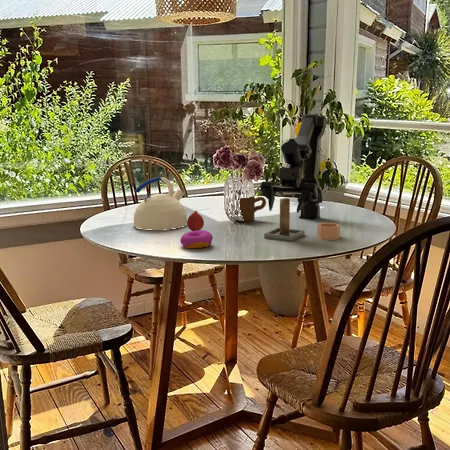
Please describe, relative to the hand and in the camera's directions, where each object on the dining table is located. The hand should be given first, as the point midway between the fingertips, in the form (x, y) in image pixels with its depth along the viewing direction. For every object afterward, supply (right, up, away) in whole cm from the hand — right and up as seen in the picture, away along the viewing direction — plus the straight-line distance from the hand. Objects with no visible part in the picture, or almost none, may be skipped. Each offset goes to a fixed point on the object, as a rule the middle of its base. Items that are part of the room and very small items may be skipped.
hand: (283, 211), depth 171 cm
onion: (-29, -8, +12) cm, 32 cm away
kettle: (-43, -5, +26) cm, 50 cm away
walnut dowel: (+1, -8, +3) cm, 8 cm away
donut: (-28, -11, -5) cm, 30 cm away
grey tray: (+1, -9, +3) cm, 9 cm away
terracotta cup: (+15, -9, +2) cm, 17 cm away
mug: (-9, -3, +31) cm, 32 cm away
